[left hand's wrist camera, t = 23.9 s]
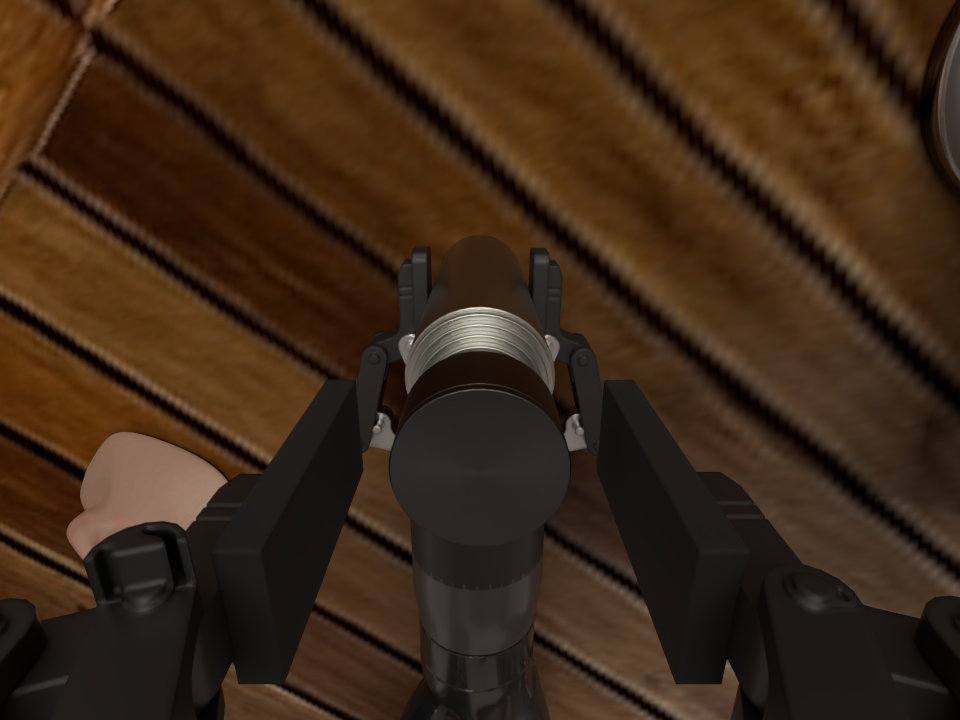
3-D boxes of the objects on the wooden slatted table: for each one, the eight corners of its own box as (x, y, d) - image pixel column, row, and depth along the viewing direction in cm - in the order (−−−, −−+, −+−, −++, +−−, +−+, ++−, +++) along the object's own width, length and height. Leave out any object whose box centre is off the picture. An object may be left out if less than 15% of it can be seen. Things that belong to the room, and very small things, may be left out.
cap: (468, 318, 14) (466, 351, 11) (588, 413, 15) (609, 461, 12) (372, 431, 15) (352, 483, 13) (489, 513, 16) (491, 574, 13)
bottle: (443, 230, 32) (385, 350, 12) (526, 240, 32) (599, 374, 12) (435, 310, 33) (373, 528, 14) (514, 320, 34) (561, 547, 14)
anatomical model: (29, 453, 32) (226, 483, 33) (76, 422, 36) (252, 450, 37) (50, 622, 37) (222, 645, 37) (89, 579, 40) (246, 600, 41)
